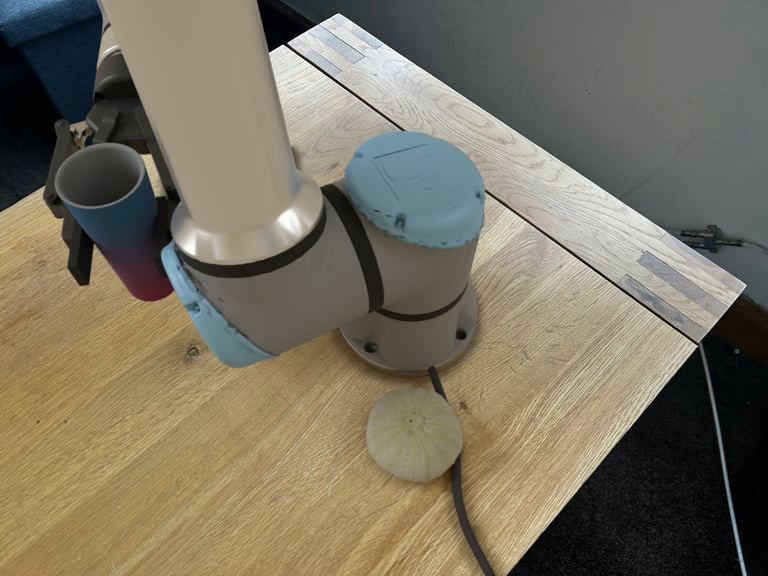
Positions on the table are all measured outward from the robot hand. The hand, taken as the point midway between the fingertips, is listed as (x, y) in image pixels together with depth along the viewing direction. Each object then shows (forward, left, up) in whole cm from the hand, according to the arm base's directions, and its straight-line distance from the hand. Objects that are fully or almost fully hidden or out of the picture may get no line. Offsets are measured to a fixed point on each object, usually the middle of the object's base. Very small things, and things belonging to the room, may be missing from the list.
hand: (120, 271), depth 54 cm
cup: (+5, 0, -9) cm, 11 cm away
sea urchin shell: (-12, -23, -18) cm, 31 cm away
